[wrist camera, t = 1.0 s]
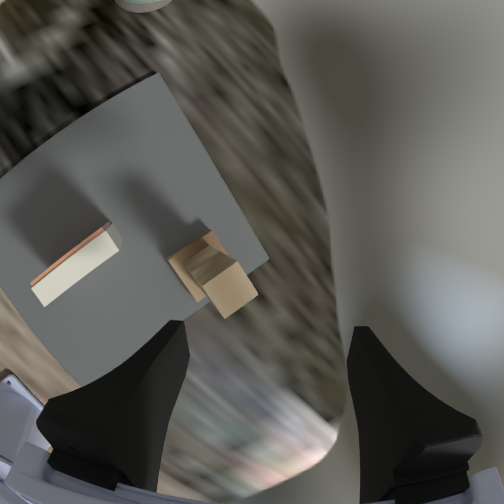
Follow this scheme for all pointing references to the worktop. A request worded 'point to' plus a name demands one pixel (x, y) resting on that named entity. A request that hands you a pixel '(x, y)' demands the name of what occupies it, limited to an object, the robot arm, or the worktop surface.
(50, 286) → the tile
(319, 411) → the worktop surface
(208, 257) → the stepped wooden block
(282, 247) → the worktop surface
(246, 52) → the worktop surface
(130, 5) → the coffee cup
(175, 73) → the worktop surface
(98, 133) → the mat
